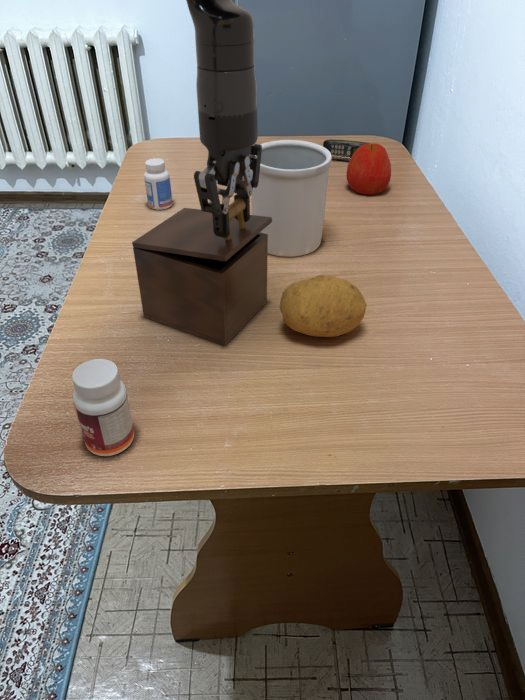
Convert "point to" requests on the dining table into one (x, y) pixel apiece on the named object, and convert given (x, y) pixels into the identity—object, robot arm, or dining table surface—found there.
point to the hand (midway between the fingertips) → (232, 227)
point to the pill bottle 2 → (157, 184)
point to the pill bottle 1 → (102, 407)
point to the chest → (204, 289)
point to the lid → (203, 233)
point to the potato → (322, 306)
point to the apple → (369, 169)
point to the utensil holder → (292, 195)
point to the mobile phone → (342, 148)
